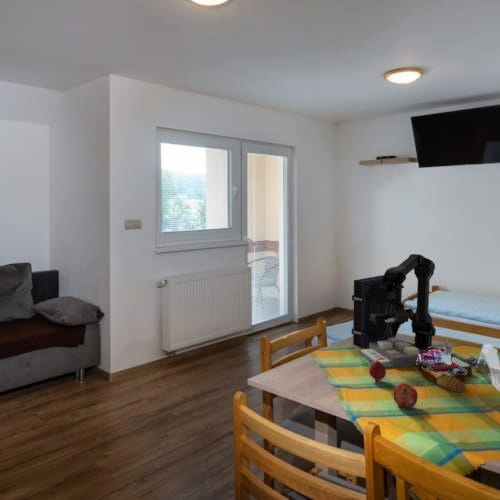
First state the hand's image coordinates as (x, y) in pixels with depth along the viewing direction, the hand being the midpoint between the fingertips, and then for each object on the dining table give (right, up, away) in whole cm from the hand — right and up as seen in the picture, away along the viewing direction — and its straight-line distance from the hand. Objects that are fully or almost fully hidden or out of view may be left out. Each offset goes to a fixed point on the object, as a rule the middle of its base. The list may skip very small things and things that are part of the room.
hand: (393, 337), depth 189 cm
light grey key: (-2, -6, +7) cm, 9 cm away
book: (-1, -7, +30) cm, 30 cm away
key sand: (+7, -7, -2) cm, 10 cm away
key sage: (+5, -6, +5) cm, 10 cm away
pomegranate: (-9, -14, -41) cm, 45 cm away
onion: (-12, -12, -21) cm, 27 cm away
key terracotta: (0, -9, +1) cm, 9 cm away
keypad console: (0, -10, +4) cm, 10 cm away
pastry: (+12, -13, -27) cm, 32 cm away
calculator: (+16, -12, -11) cm, 23 cm away
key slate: (+4, -6, +11) cm, 13 cm away
